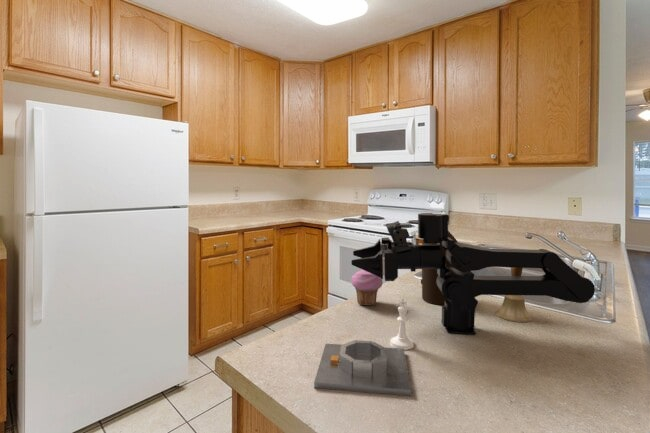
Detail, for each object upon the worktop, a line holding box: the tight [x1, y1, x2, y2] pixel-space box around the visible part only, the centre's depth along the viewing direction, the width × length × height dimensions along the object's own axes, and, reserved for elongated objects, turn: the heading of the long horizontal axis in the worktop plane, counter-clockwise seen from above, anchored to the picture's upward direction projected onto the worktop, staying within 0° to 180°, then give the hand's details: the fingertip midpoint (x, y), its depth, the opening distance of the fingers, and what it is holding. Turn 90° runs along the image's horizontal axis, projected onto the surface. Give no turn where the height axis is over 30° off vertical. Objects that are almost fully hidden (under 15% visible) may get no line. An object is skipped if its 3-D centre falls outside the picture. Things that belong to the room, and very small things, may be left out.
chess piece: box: [389, 298, 415, 351], centre depth 73 cm, size 5×5×10 cm
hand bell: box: [495, 267, 533, 323], centre depth 88 cm, size 8×8×16 cm
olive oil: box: [420, 230, 459, 306], centre depth 100 cm, size 11×11×25 cm
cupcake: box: [350, 269, 384, 306], centre depth 97 cm, size 9×9×10 cm
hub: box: [313, 339, 412, 397], centre depth 63 cm, size 16×14×4 cm
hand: (352, 257), depth 83 cm, fingers open, 9 cm apart
